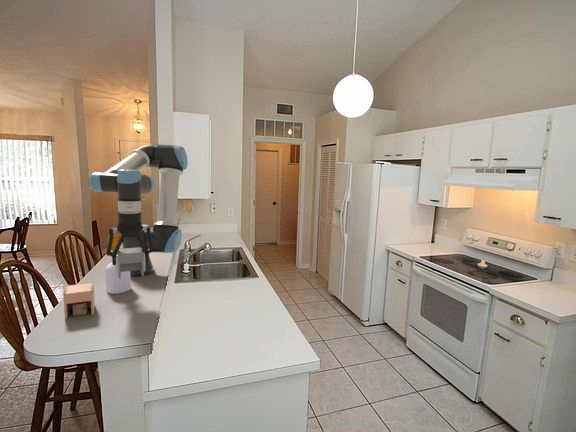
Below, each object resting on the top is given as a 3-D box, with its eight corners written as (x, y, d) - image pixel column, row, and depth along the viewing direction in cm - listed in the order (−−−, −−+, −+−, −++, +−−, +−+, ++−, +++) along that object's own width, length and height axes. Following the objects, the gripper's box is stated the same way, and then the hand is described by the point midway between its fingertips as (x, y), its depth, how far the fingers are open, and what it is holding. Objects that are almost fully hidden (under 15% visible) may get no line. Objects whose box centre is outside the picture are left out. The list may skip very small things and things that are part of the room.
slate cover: (118, 271, 117) (117, 248, 116) (142, 269, 121) (141, 247, 120) (118, 278, 110) (118, 254, 109) (143, 276, 114) (143, 252, 113)
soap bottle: (116, 296, 124) (114, 236, 120) (101, 291, 127) (98, 233, 124) (135, 288, 132) (134, 232, 128) (121, 284, 135) (119, 229, 132)
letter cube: (74, 311, 110) (73, 300, 109) (87, 309, 112) (87, 298, 111) (73, 316, 106) (72, 305, 106) (86, 313, 108) (86, 303, 108)
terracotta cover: (67, 309, 111) (66, 285, 109) (94, 305, 115) (93, 282, 113) (64, 319, 104) (63, 294, 102) (93, 315, 108) (92, 290, 106)
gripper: (95, 214, 104) (97, 278, 107) (162, 213, 114) (162, 271, 117) (96, 211, 110) (98, 271, 113) (159, 210, 121) (159, 266, 124)
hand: (130, 271), depth 115 cm, fingers closed on slate cover, 8 cm apart
